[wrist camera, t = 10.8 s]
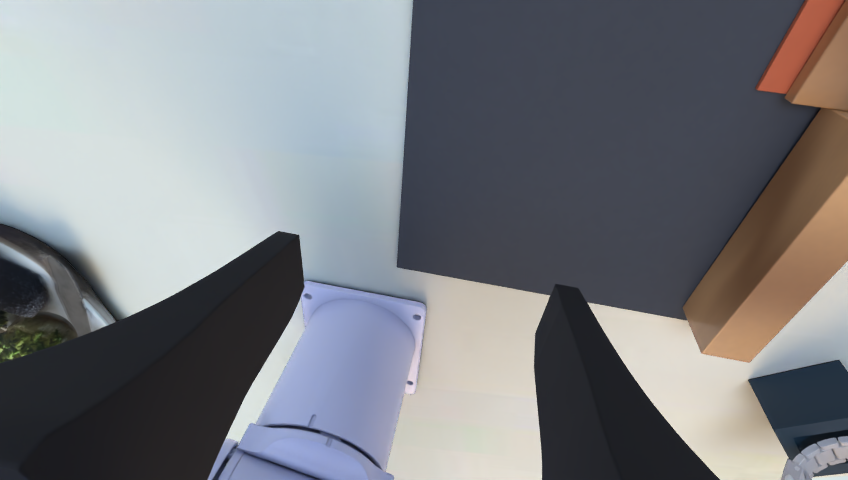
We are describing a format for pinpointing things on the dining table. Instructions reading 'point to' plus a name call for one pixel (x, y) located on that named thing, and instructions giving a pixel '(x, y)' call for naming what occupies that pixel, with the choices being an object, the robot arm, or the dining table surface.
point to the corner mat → (596, 138)
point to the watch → (808, 418)
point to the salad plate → (42, 297)
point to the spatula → (785, 222)
